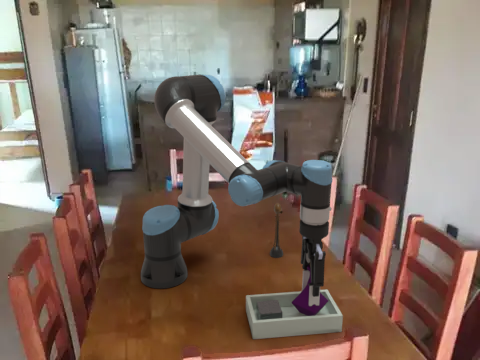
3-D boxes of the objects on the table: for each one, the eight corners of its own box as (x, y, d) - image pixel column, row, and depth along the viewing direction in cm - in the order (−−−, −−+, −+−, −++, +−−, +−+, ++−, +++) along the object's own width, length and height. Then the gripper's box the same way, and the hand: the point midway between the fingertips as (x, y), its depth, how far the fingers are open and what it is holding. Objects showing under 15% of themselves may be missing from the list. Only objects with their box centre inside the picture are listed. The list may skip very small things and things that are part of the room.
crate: (252, 339, 114) (253, 322, 113) (245, 310, 127) (245, 295, 125) (341, 331, 117) (342, 315, 116) (326, 304, 130) (327, 289, 128)
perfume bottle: (304, 300, 127) (307, 244, 122) (328, 310, 122) (332, 252, 117) (290, 312, 121) (293, 254, 116) (314, 323, 117) (317, 262, 111)
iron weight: (260, 327, 118) (260, 314, 116) (256, 313, 123) (256, 301, 122) (282, 325, 118) (282, 312, 117) (277, 312, 124) (277, 299, 123)
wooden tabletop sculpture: (285, 258, 157) (287, 206, 151) (273, 260, 156) (274, 207, 150) (280, 251, 163) (281, 200, 157) (268, 252, 162) (269, 201, 156)
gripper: (341, 234, 105) (335, 317, 112) (317, 206, 123) (313, 279, 130) (310, 236, 104) (306, 319, 111) (291, 207, 122) (288, 281, 129)
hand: (310, 297), depth 121 cm, fingers closed on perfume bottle, 6 cm apart
